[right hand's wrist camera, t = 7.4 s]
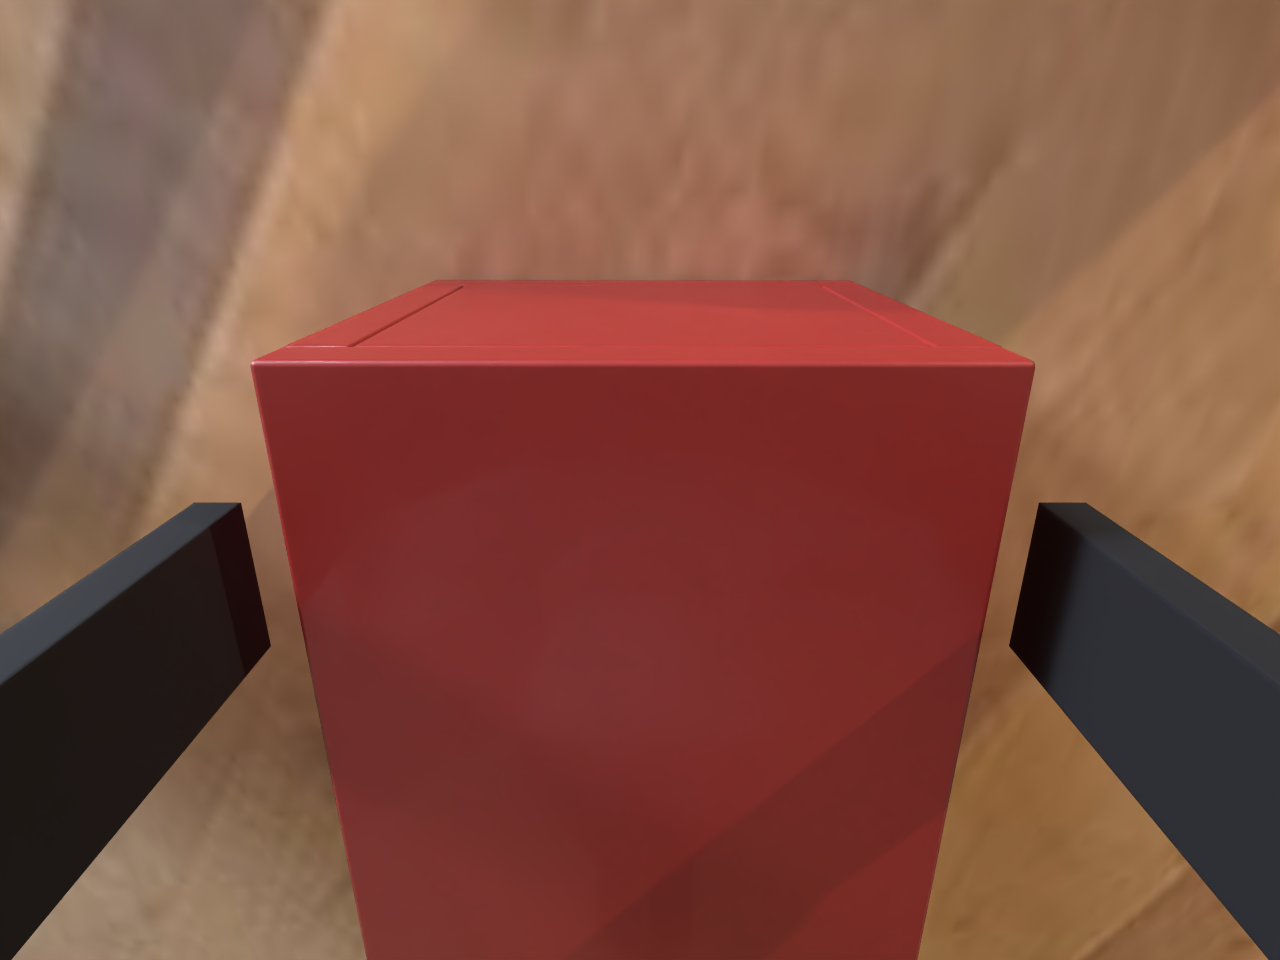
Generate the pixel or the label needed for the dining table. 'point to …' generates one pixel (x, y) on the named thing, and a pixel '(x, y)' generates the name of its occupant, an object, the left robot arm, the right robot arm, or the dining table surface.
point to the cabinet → (642, 608)
